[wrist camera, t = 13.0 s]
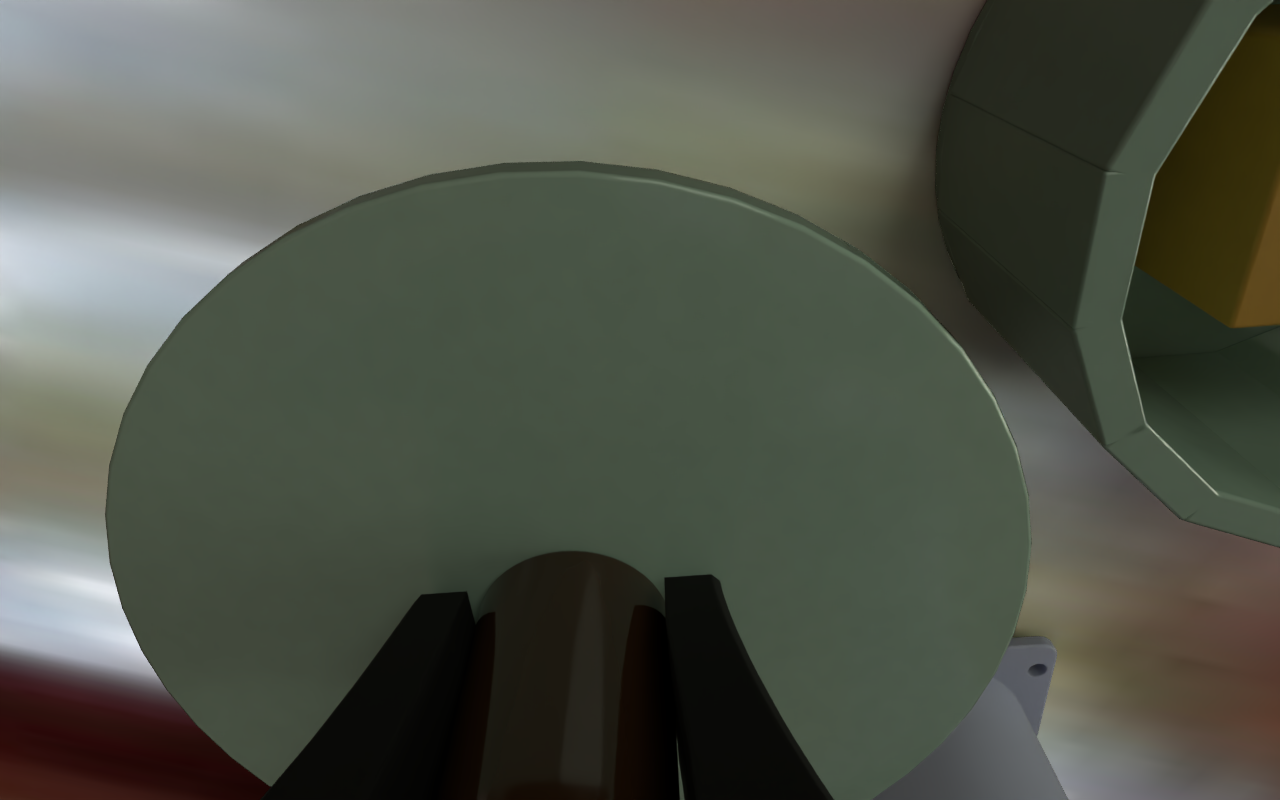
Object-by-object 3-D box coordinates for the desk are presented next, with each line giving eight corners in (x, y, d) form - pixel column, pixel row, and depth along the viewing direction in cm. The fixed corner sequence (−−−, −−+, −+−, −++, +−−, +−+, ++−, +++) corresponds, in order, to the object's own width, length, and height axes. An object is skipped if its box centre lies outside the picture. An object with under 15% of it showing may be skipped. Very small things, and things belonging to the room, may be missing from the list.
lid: (952, 798, 15) (1108, 1220, 10) (296, 837, 15) (138, 1258, 10) (1070, 99, 9) (1611, 298, 4) (-19, 196, 9) (-745, 483, 4)
